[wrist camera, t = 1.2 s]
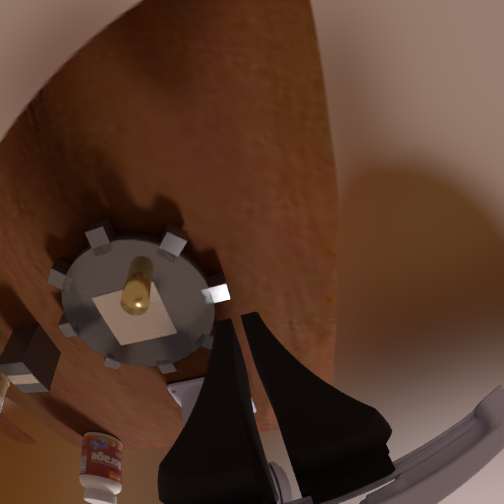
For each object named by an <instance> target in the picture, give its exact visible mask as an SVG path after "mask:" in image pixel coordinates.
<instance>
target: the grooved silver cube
mask: <svg viewBox="0 0 504 504" xmlns="http://www.w3.org/2000/svg"><path fill="white" fill-rule="evenodd" d="M60 354H61V352H60V351H59V350H58V348H57V347H56V346H55V344H54V343H53V342H52V340H51V339H50V338H49V336H48V335H47V334H46V332H45V331H44V330H43V328H42V327H41V325H40V324H35V325H30V326H26V327H22V328H17V329H14V330H13V332H12V334H11V336H10V338H9V340H8V342H7V344H6V346H5V349H4V351H3V353H2V355H1V357H0V369H1V370H2V371H3V372H4V374H5V375H6V377H7V378H8V379H9V380H10V381H11V382H12V383H13V384H15V385H16V387H17V388H18V389H19V390H20V391H21V392H22V393H30V392H49V390H50V387H51V383H52V380H53V376H54V373H55V370H56V366H57V363H58V360H59V357H60Z"/></svg>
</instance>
